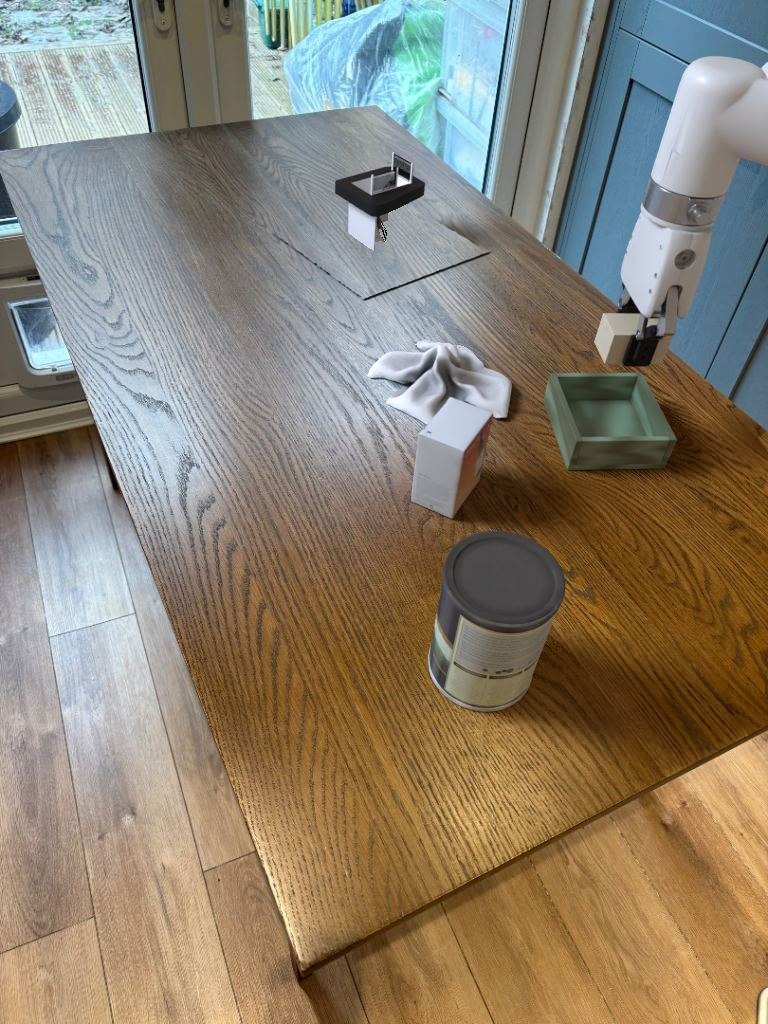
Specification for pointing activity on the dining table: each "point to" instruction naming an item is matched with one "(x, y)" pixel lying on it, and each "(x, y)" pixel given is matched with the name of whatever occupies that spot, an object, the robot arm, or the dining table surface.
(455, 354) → the cloth
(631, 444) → the holder
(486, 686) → the coffee can
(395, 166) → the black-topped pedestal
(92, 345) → the dining table surface
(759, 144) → the robot arm
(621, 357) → the cream rectangular block
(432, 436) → the small box
